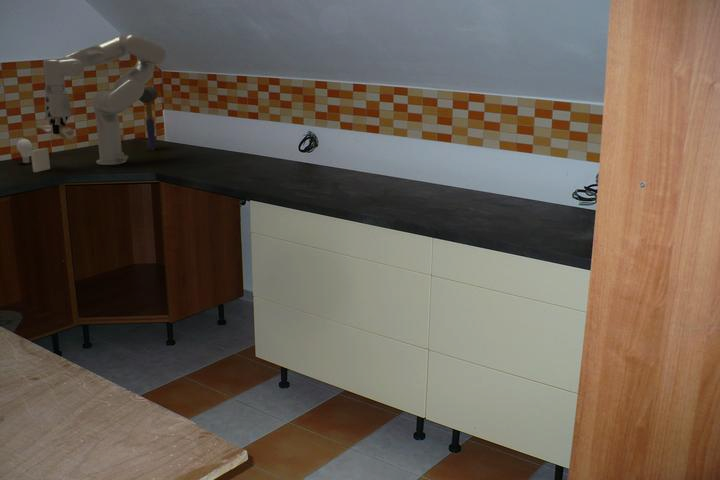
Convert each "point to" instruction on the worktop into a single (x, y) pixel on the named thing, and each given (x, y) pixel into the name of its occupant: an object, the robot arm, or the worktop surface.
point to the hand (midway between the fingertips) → (59, 133)
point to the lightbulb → (24, 149)
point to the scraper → (63, 131)
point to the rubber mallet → (150, 114)
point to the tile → (40, 159)
